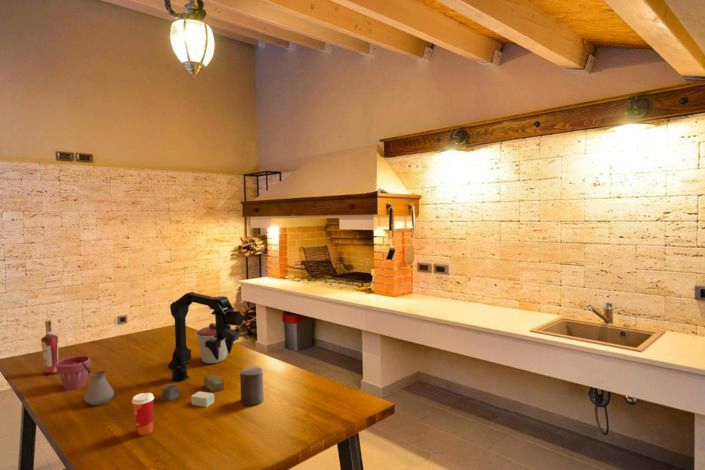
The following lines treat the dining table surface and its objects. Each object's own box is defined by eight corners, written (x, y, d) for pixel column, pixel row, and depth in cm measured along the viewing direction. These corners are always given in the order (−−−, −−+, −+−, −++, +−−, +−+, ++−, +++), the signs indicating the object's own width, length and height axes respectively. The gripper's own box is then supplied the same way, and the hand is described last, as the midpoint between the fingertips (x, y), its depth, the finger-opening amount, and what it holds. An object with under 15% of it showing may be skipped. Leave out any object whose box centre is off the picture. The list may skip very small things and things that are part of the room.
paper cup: (138, 427, 172) (136, 392, 171) (159, 426, 172) (156, 391, 171) (130, 438, 164) (127, 401, 163) (151, 436, 165) (149, 400, 164)
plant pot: (96, 385, 215) (94, 359, 214) (62, 394, 205) (60, 368, 204) (86, 377, 225) (84, 353, 224) (54, 386, 215) (52, 361, 214)
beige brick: (191, 405, 191) (191, 396, 190) (199, 400, 195) (199, 391, 195) (206, 407, 188) (206, 398, 188) (214, 402, 193) (213, 393, 192)
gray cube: (161, 399, 196) (161, 388, 196) (170, 395, 201) (169, 384, 201) (170, 401, 195) (170, 390, 194) (178, 396, 199) (178, 385, 199)
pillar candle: (244, 408, 185) (242, 373, 184) (238, 399, 194) (237, 366, 193) (266, 403, 190) (265, 369, 189) (260, 394, 199) (259, 362, 198)
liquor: (40, 374, 232) (36, 322, 230) (54, 369, 238) (50, 318, 236) (49, 376, 229) (45, 323, 227) (63, 371, 236) (59, 319, 234)
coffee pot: (119, 399, 198) (117, 367, 196) (91, 409, 188) (89, 375, 187) (97, 389, 210) (95, 358, 209) (71, 398, 201) (68, 365, 200)
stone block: (212, 393, 202) (212, 383, 201) (203, 386, 210) (202, 376, 210) (224, 390, 205) (224, 379, 205) (215, 383, 214) (214, 372, 214)
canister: (238, 358, 248) (236, 321, 246) (212, 368, 233) (210, 329, 231) (216, 353, 258) (214, 317, 256) (190, 362, 242) (187, 325, 241)
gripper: (223, 330, 196) (225, 365, 197) (247, 320, 213) (249, 351, 214) (203, 328, 200) (205, 362, 201) (228, 318, 217) (229, 349, 218)
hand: (223, 356), depth 209 cm, fingers open, 9 cm apart
